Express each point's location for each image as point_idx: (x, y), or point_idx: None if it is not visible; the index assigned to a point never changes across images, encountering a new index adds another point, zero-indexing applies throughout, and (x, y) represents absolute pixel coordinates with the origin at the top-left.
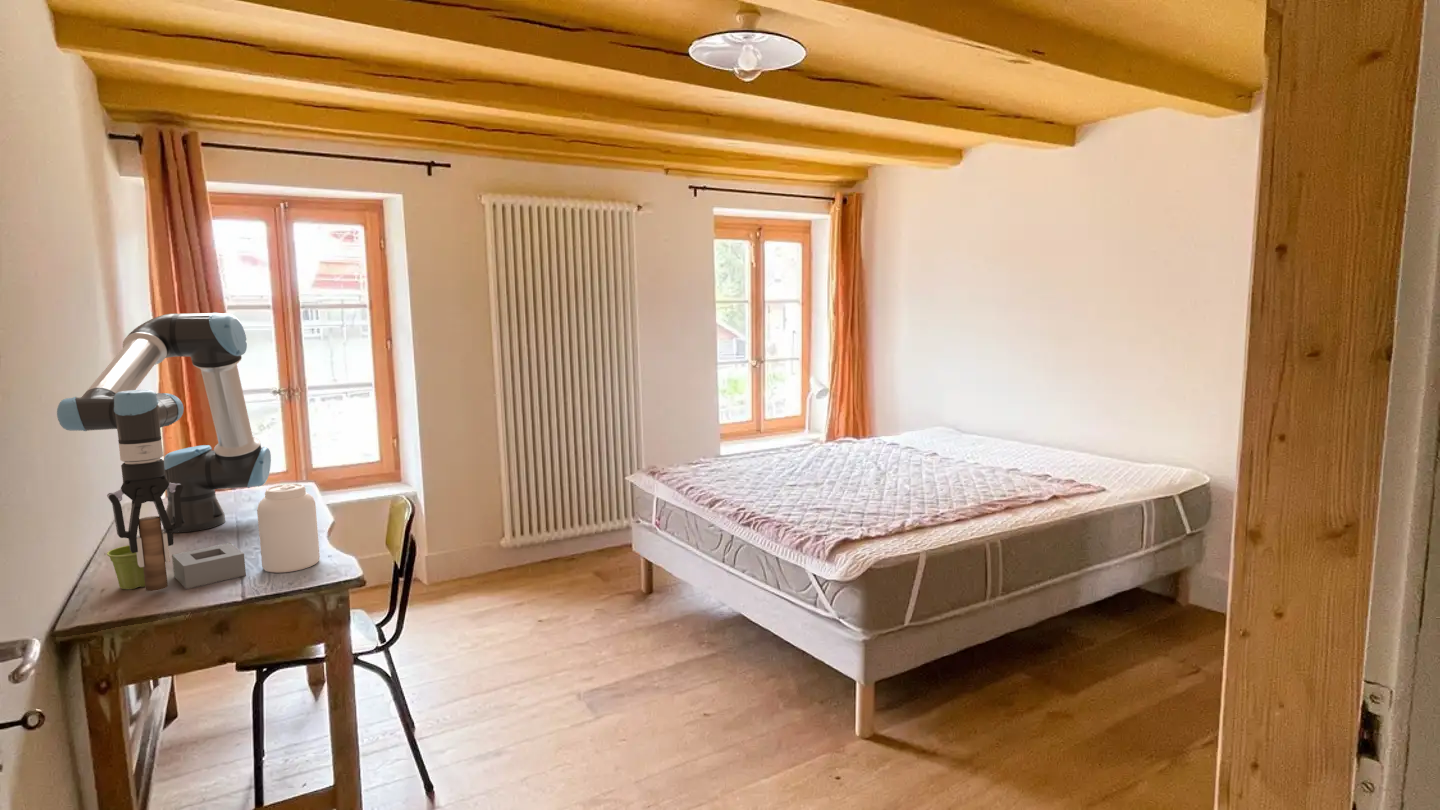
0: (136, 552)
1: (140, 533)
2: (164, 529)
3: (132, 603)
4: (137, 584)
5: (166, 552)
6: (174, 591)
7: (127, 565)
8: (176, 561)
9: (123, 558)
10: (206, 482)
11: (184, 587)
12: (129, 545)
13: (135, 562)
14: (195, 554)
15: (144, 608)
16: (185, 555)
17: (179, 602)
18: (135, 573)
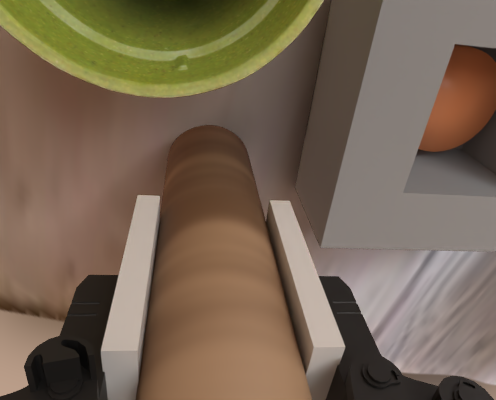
0: (126, 245)
1: None
2: (343, 387)
3: (113, 196)
4: (158, 3)
5: None
6: (260, 176)
7: (97, 23)
8: (356, 77)
9: (60, 39)
10: None
11: (300, 163)
12: (67, 317)
13: (144, 48)
14: (478, 44)
15: None
16: (428, 49)
17: None
18: (147, 20)
